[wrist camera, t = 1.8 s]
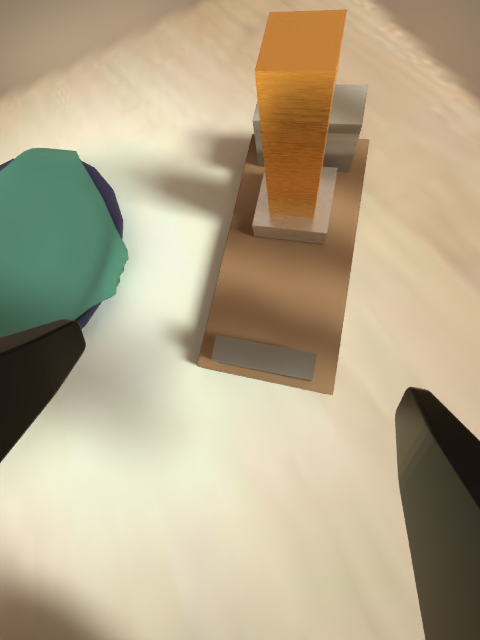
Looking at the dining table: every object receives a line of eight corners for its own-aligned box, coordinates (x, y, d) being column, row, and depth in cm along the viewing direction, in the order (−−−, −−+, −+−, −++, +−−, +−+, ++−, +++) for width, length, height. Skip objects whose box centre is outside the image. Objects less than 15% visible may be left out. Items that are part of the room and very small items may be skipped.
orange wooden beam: (324, 244, 21) (361, 94, 10) (254, 236, 22) (224, 92, 11) (345, 113, 23) (394, -119, 13) (281, 111, 24) (277, -106, 14)
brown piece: (329, 394, 20) (344, 395, 15) (202, 367, 22) (175, 359, 16) (364, 154, 24) (386, 85, 18) (254, 148, 26) (245, 83, 20)
